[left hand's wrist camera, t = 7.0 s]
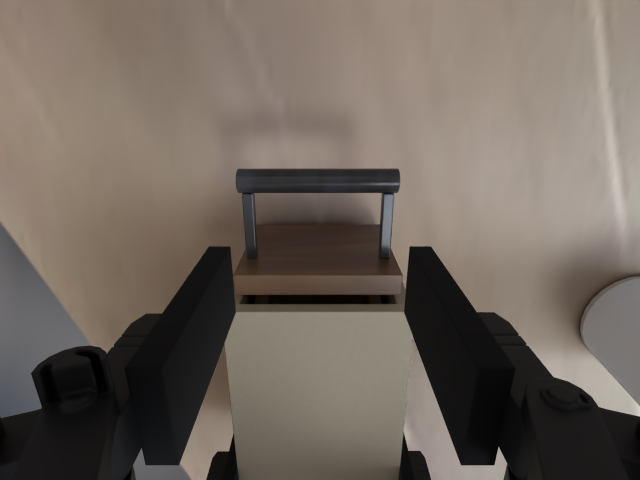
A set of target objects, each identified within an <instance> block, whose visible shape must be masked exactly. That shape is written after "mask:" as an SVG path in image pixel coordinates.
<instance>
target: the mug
mask: <svg viewBox="0 0 640 480" xmlns="http://www.w3.org/2000/svg"><path fill="white" fill-rule="evenodd" d="M580 332H581V337H582V341H583V343H584V344H585V346H586V347H587V349H588V350H589V351H590V352H591V353H592V354H593V355H594V357H595V358H596V359H597V360H598V361H599V362H600V363H601V364H602V365H603V366H604V367H605V369H606V370H607V371H608V372H609V373H610V374H611V375H612V376H613V377H614V378H615V379H616V380H617V382H618V383H619V384H620V385H621V386H622V387H623V388H624V389H625V390H626V391H627V392H628V394H629V395H630V396H631V397H632V398H633V399H634V400H635V401H636V402H637V403H638V404H639V406H640V276H635V277H628V278H625V279H623V280H620V281H617V282H615V283H613V284H611V285H609V286H608V287H606V288H604V289H603V290H602V291H601V292H599V293H598V294H597V295H596V296H595V297H594V298H593V299H592V300H591V302H590V303H589V304H588V306H587V307H586V309H585V311H584V314H583V316H582V318H581V326H580Z"/></svg>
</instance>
